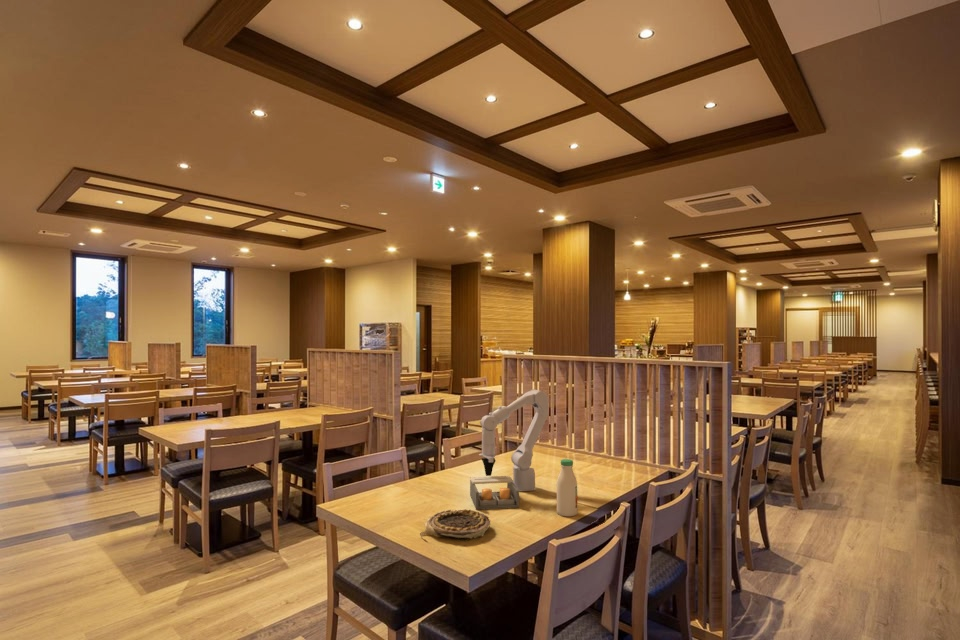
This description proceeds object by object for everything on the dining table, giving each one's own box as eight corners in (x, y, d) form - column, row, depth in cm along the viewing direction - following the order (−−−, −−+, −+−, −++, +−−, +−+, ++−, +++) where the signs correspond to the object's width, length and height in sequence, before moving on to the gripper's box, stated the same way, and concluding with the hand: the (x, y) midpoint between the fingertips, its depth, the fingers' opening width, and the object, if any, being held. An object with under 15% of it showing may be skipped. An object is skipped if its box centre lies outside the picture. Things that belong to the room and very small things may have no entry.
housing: (509, 493, 213) (509, 477, 214) (519, 507, 195) (519, 490, 196) (470, 495, 211) (470, 479, 211) (476, 509, 193) (476, 492, 193)
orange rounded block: (508, 500, 202) (508, 487, 202) (510, 503, 198) (510, 490, 198) (498, 500, 201) (498, 487, 201) (500, 503, 197) (500, 490, 197)
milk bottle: (572, 518, 184) (572, 463, 184) (553, 514, 188) (553, 460, 189) (580, 512, 190) (580, 459, 191) (561, 508, 194) (561, 456, 195)
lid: (509, 477, 214) (509, 475, 214) (512, 482, 206) (512, 480, 206) (470, 479, 211) (470, 477, 211) (472, 484, 204) (472, 481, 204)
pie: (478, 513, 190) (478, 500, 190) (515, 540, 166) (515, 525, 166) (407, 526, 178) (407, 511, 178) (436, 556, 153) (436, 540, 153)
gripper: (476, 440, 223) (476, 471, 223) (481, 447, 209) (481, 480, 208) (492, 440, 224) (492, 470, 224) (498, 447, 210) (498, 479, 210)
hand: (488, 475), depth 216 cm, fingers closed
